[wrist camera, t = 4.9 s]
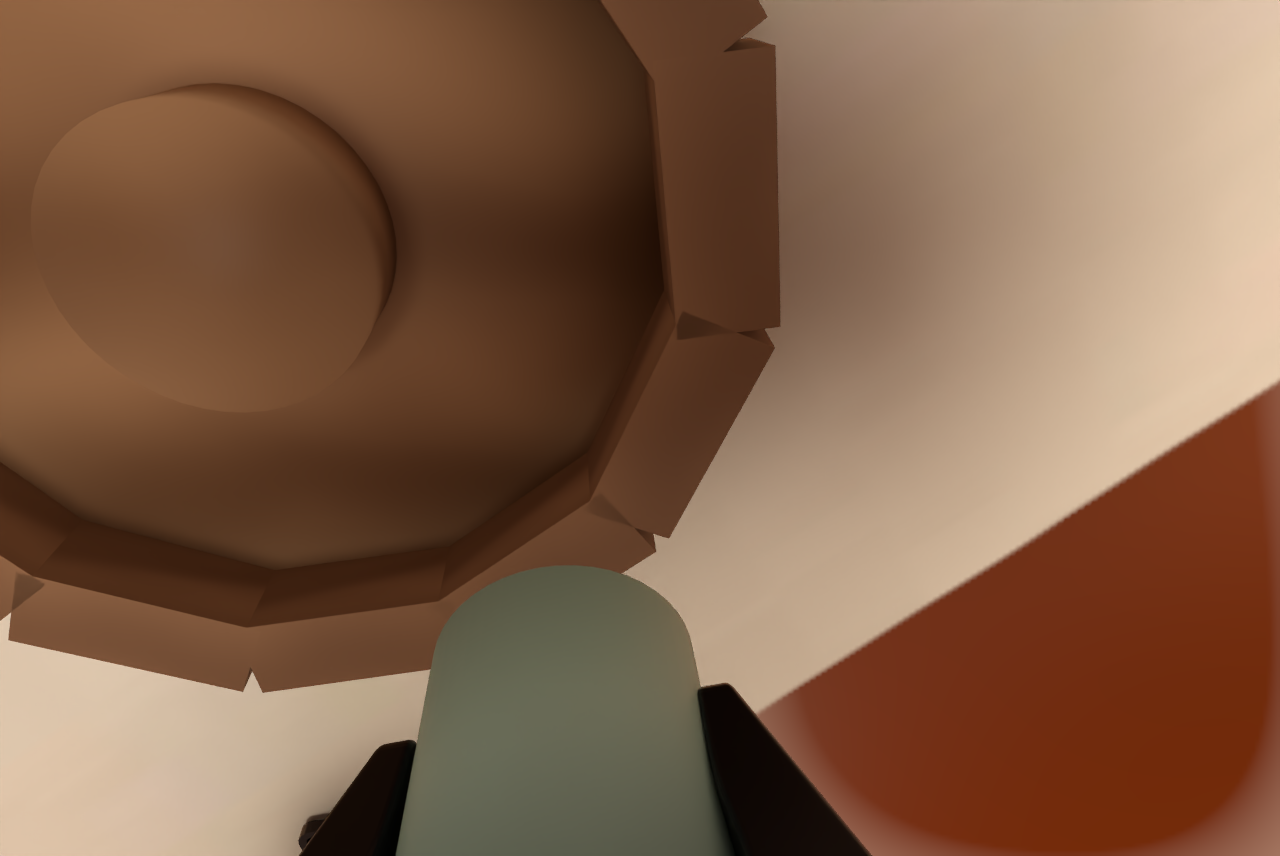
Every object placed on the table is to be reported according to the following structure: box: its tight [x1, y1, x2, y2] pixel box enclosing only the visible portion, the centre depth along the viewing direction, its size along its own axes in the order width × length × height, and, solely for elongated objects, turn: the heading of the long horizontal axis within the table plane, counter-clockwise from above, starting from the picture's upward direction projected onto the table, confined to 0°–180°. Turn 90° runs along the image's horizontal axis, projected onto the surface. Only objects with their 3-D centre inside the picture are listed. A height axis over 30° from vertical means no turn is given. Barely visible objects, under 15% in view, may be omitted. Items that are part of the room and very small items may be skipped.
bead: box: [396, 565, 736, 856], centre depth 9 cm, size 3×3×4 cm
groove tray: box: [0, 0, 780, 693], centre depth 15 cm, size 20×20×3 cm
